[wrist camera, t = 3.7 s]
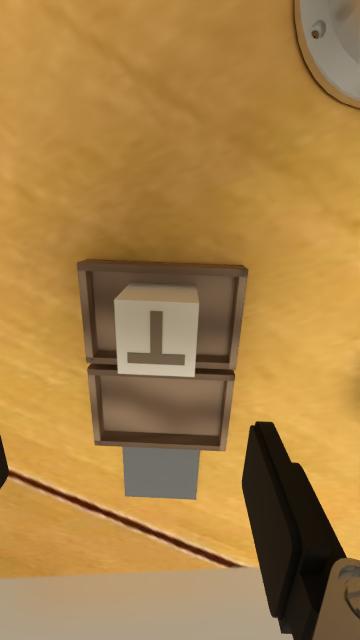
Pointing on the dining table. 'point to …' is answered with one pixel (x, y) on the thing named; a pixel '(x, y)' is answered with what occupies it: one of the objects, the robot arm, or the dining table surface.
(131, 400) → the tray
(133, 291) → the letter cube
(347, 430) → the dining table surface
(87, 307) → the tray
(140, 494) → the coaster
